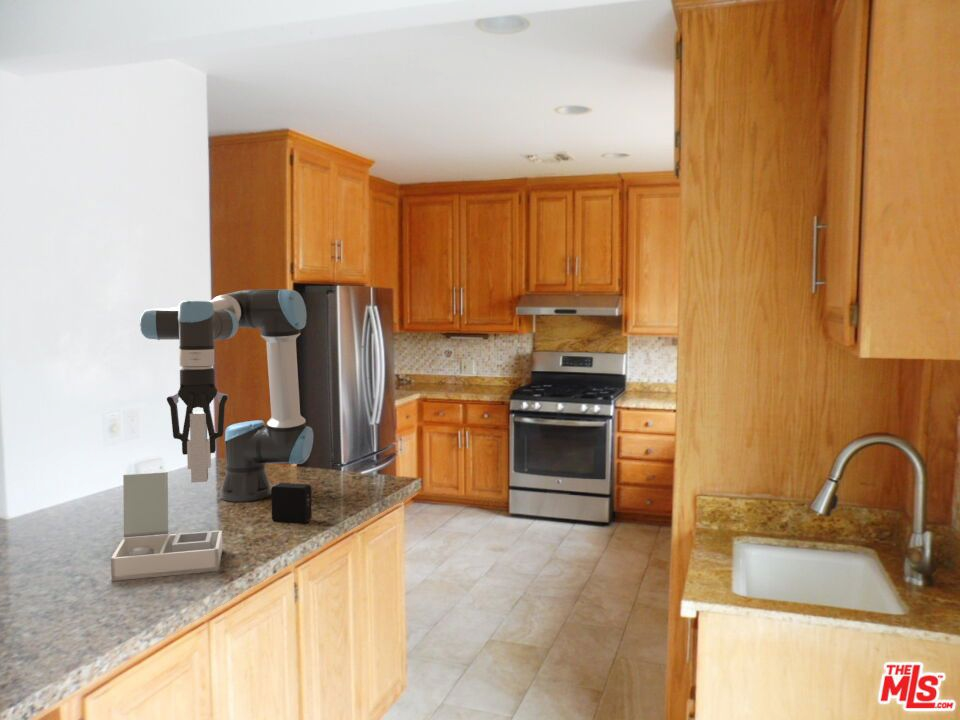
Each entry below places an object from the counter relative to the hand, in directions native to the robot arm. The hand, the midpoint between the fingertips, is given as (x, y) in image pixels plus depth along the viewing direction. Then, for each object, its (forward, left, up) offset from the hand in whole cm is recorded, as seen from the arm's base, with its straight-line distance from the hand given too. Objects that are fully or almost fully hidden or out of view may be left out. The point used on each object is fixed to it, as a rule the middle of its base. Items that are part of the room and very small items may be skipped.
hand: (199, 467), depth 167 cm
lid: (-6, -13, -10) cm, 17 cm away
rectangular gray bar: (0, 0, -3) cm, 3 cm away
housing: (+1, -7, -22) cm, 23 cm away
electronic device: (-26, +21, -22) cm, 40 cm away
